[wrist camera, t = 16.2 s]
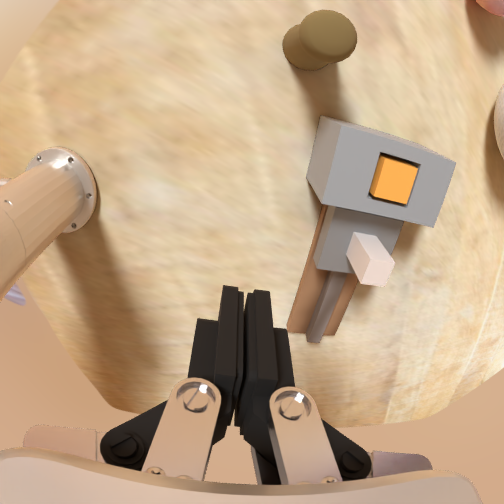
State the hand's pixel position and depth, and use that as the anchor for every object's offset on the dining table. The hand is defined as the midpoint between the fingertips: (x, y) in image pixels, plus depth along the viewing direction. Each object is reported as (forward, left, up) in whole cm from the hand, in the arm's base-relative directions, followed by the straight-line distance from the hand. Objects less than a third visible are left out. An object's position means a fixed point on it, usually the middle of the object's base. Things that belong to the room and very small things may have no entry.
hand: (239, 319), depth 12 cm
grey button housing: (+15, +2, -29) cm, 33 cm away
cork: (+5, +14, -29) cm, 33 cm away
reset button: (+15, +2, -24) cm, 28 cm away
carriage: (+15, -7, -27) cm, 32 cm away
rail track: (+15, -14, -29) cm, 36 cm away
